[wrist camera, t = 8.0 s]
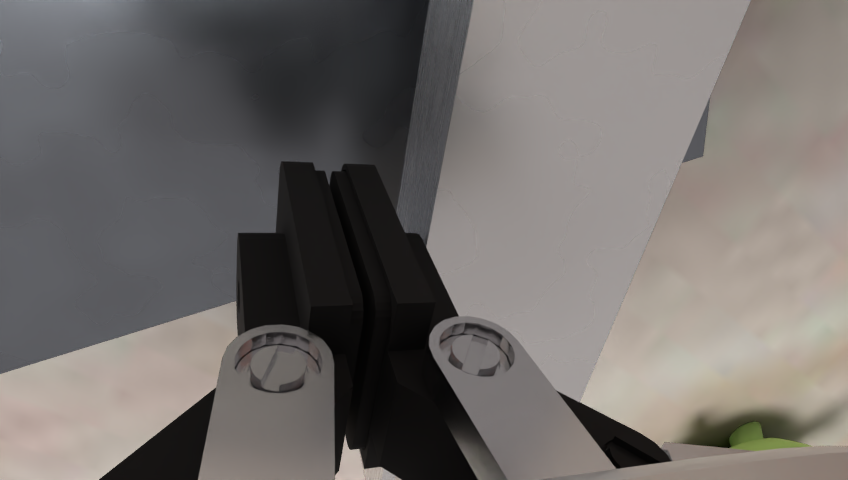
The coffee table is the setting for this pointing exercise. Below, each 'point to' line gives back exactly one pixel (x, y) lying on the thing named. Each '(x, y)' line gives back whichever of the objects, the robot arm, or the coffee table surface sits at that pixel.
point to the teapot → (758, 439)
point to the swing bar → (553, 157)
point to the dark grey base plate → (178, 146)
